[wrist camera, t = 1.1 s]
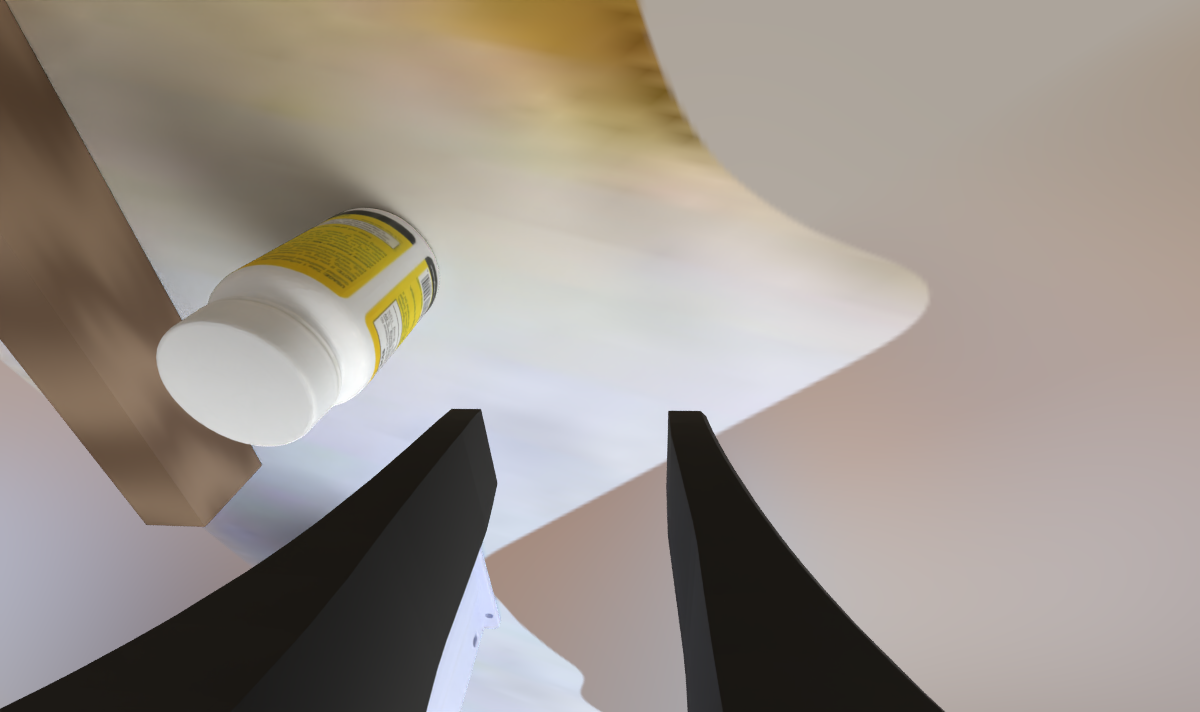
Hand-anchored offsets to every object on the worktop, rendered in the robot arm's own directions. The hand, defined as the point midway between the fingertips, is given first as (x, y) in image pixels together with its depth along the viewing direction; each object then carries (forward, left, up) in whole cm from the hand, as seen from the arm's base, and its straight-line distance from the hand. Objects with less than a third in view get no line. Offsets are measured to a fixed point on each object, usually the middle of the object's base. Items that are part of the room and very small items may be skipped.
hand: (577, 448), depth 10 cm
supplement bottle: (0, +9, -11) cm, 14 cm away
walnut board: (0, +21, -10) cm, 23 cm away
